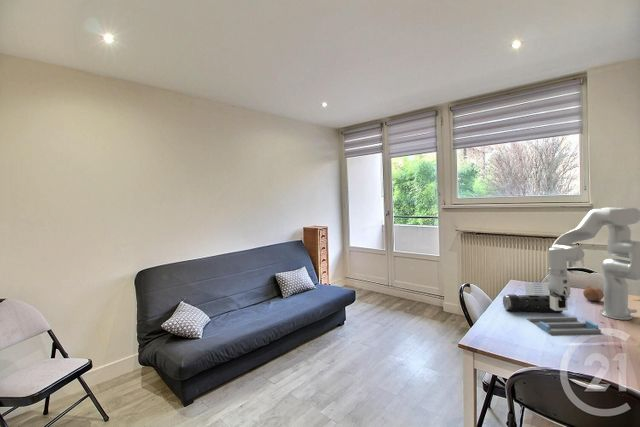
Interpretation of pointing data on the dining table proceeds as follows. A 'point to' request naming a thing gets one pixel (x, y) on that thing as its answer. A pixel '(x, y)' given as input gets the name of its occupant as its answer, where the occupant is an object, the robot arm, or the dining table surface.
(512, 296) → the muzzle brake
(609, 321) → the dining table surface
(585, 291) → the onion
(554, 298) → the grey rectangular prism
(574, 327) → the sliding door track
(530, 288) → the warehouse
